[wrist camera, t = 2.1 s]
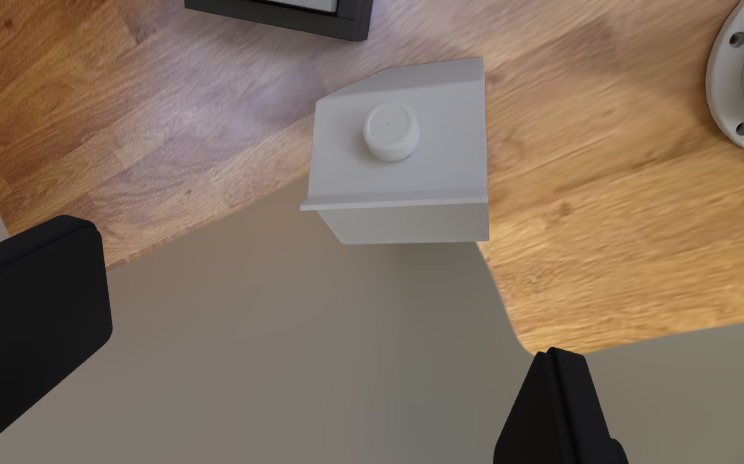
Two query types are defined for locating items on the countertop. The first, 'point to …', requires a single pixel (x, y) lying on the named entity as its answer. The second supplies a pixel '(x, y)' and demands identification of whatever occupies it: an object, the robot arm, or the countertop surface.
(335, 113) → the milk carton
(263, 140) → the countertop surface
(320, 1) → the scale pan
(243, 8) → the scale
